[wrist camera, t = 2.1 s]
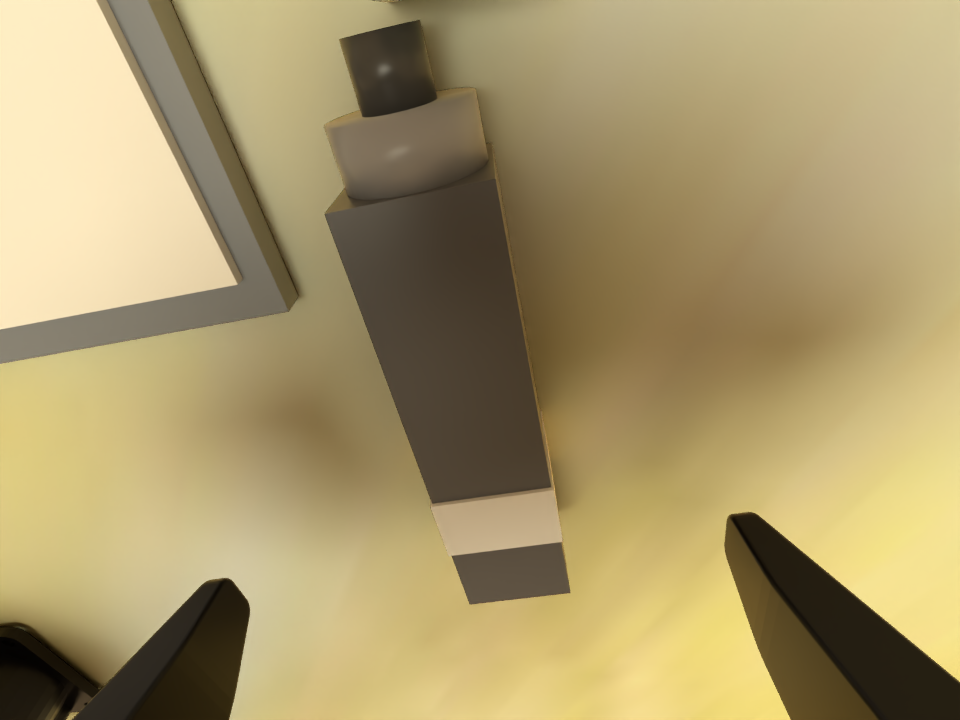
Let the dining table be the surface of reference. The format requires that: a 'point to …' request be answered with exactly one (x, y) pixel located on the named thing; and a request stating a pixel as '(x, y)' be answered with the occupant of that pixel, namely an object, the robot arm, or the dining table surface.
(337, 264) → the dining table surface
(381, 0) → the pale blue marker
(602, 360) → the dining table surface
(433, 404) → the black marker
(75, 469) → the dining table surface
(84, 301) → the whiteboard
